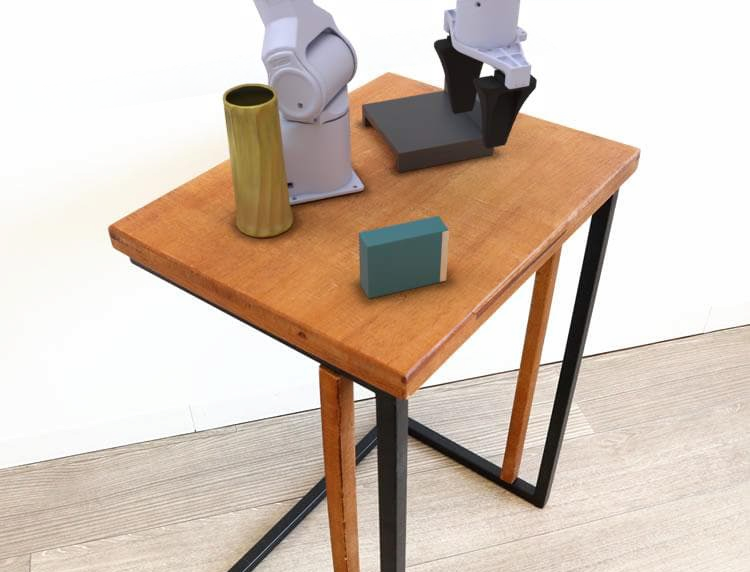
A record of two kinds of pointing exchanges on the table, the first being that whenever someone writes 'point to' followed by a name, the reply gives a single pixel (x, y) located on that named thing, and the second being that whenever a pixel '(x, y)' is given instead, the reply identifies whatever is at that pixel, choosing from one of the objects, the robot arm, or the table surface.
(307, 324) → the table surface
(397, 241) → the book
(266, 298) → the table surface
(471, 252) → the table surface
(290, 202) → the robot arm
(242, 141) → the vase
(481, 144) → the grey corner tray
